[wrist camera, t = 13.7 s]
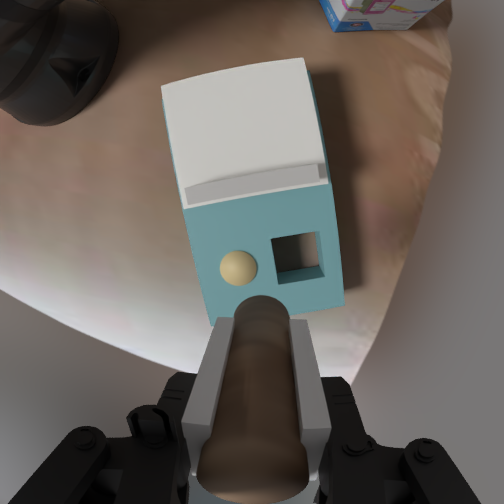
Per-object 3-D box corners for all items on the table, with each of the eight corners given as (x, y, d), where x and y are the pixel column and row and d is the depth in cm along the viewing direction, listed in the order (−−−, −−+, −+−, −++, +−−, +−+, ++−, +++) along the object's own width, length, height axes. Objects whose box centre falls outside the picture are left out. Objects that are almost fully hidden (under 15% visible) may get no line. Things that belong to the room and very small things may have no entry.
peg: (233, 343, 16) (202, 500, 7) (232, 294, 16) (189, 444, 6) (287, 345, 16) (302, 504, 7) (291, 295, 16) (317, 449, 6)
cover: (164, 88, 21) (151, 78, 18) (301, 61, 20) (307, 47, 17) (186, 207, 24) (175, 213, 21) (325, 183, 23) (335, 185, 20)
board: (172, 105, 25) (161, 98, 22) (304, 80, 24) (309, 69, 21) (215, 311, 30) (210, 327, 27) (337, 292, 29) (345, 306, 26)
